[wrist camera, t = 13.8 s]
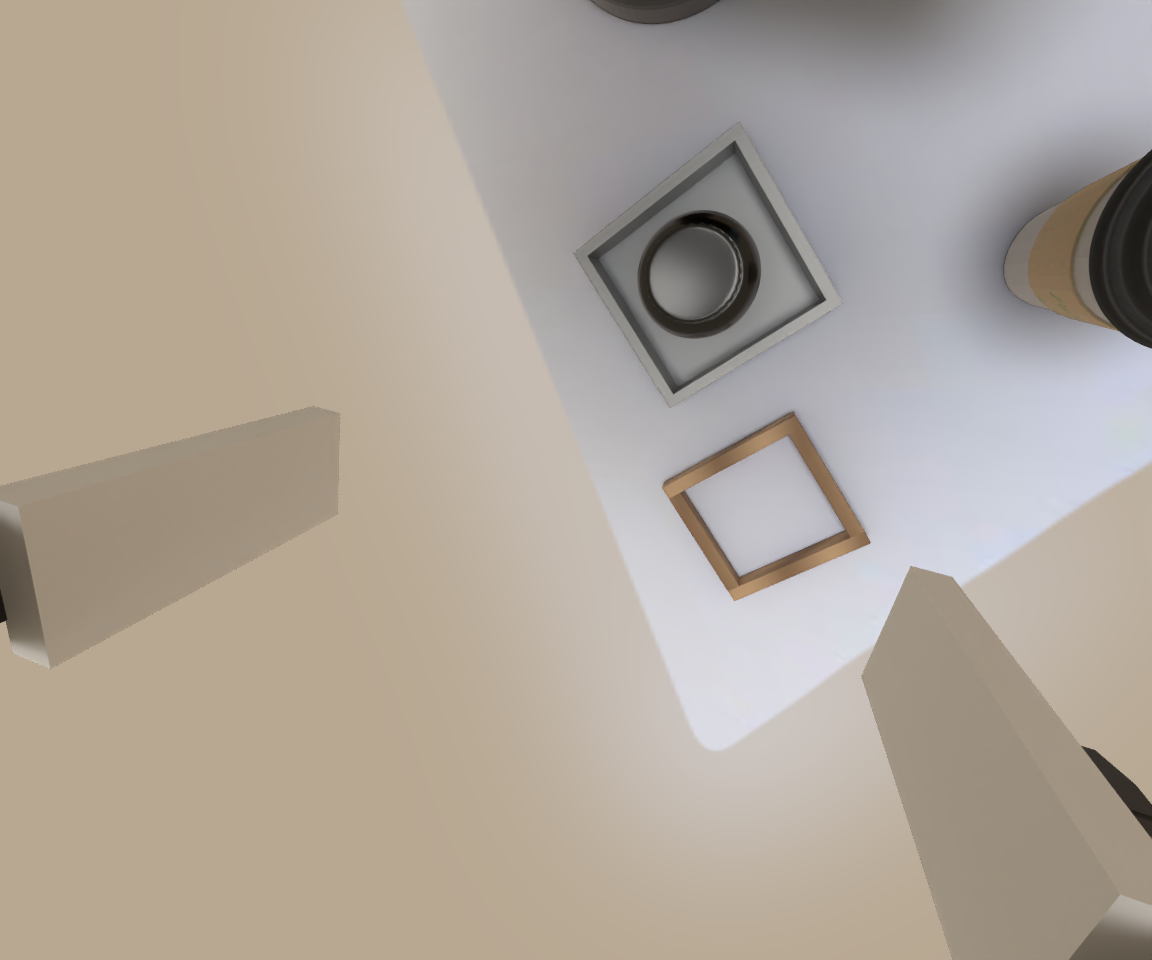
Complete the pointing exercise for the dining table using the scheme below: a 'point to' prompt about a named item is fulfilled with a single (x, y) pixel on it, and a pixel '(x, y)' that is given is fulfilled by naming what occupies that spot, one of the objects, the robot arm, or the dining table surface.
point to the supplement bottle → (699, 274)
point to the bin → (788, 262)
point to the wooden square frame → (792, 563)
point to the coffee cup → (1092, 254)
